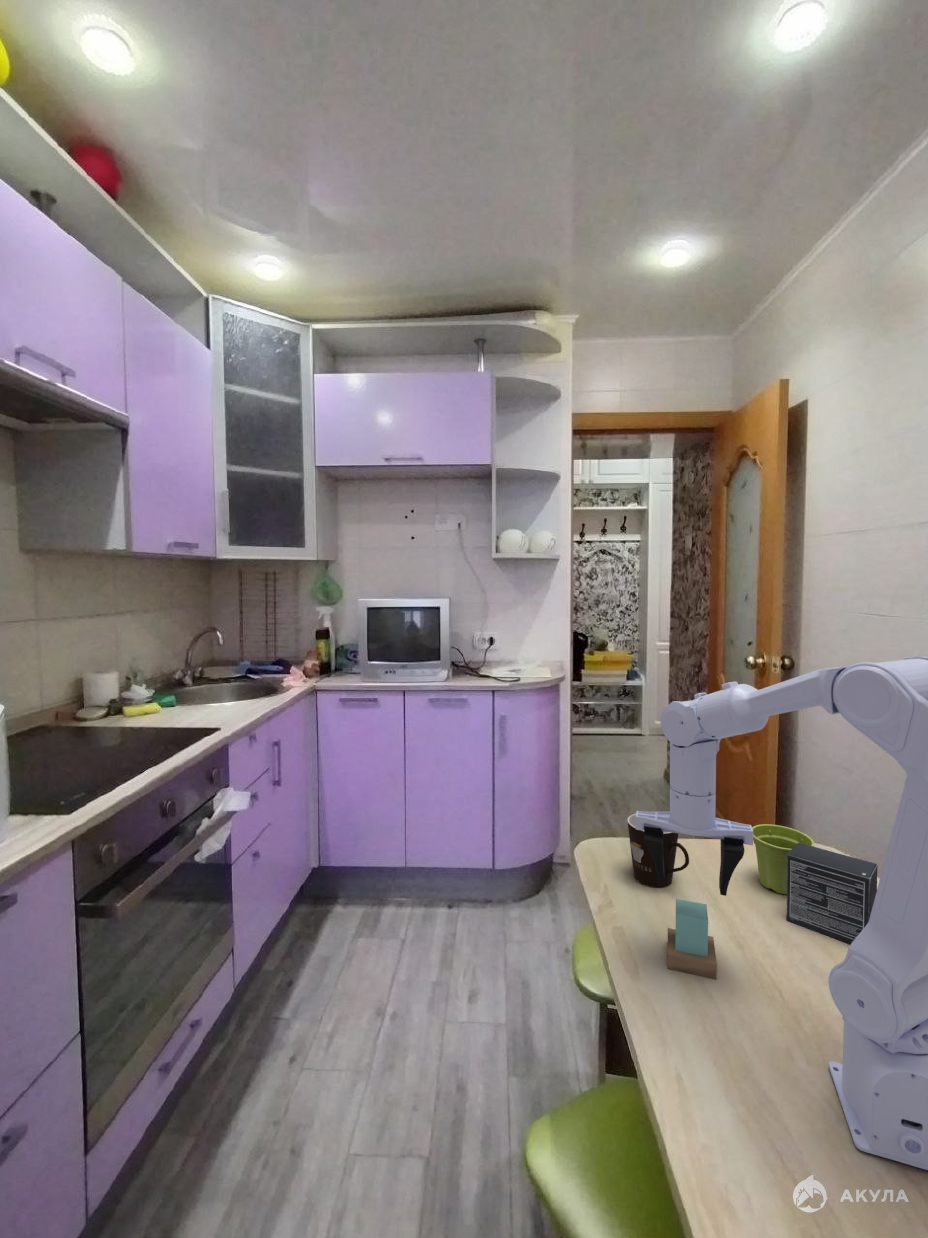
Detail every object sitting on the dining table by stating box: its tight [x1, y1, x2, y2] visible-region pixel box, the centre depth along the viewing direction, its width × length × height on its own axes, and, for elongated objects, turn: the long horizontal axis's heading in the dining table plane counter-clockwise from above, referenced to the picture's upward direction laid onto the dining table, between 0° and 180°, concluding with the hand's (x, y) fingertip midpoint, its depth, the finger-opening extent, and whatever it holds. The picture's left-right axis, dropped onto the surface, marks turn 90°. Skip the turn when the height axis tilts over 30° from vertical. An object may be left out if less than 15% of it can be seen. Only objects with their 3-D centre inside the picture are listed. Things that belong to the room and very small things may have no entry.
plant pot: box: [752, 823, 815, 895], centre depth 92 cm, size 9×9×9 cm
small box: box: [785, 843, 879, 945], centre depth 81 cm, size 11×6×10 cm, turn 45°
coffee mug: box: [627, 813, 690, 889], centre depth 94 cm, size 12×9×10 cm
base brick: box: [667, 927, 718, 980], centre depth 75 cm, size 6×6×2 cm
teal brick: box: [675, 898, 709, 957], centre depth 75 cm, size 4×4×5 cm
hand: (691, 886), depth 74 cm, fingers open, 7 cm apart
